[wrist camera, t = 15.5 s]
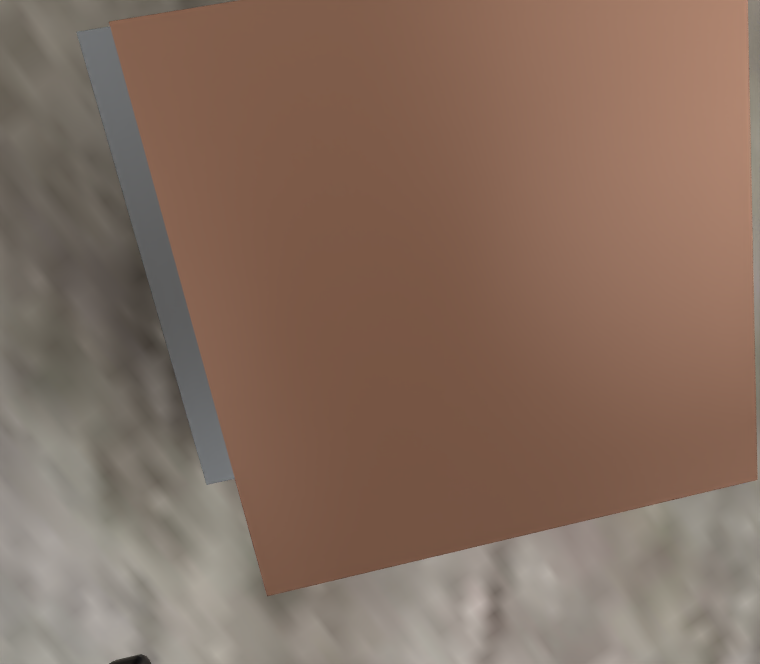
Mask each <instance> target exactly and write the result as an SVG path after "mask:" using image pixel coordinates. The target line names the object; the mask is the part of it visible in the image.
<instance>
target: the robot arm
mask: <svg viewBox="0 0 760 664" xmlns="http://www.w3.org/2000/svg"><path fill="white" fill-rule="evenodd" d="M110 664H151V662H150V660H149V659H148V657H147V656H145V655H142V654H139V655H135V656H131V657H127V658H123V659H119V660H115V661H113V662H111V663H110Z"/></svg>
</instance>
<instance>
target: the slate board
mask: <svg viewBox="0 0 760 664" xmlns="http://www.w3.org/2000/svg"><path fill="white" fill-rule="evenodd" d="M77 36H78V39H79V43H80V46H81V50H82V53H83V57H84V60H85V64H86V67H87V71H88V74H89V78H90V81H91V84H92V88H93V91H94V95H95V98H96V102H97V105H98V109H99V112H100V116H101V119H102V123H103V126H104V130H105V133H106V137H107V140H108V144H109V147H110V150H111V154H112V157H113V161H114V164H115V168H116V171H117V175H118V178H119V182H120V185H121V189H122V192H123V196H124V199H125V203H126V206H127V210H128V213H129V217H130V220H131V223H132V227H133V230H134V234H135V237H136V241H137V244H138V248H139V251H140V255H141V258H142V262H143V265H144V269H145V272H146V276H147V279H148V283H149V286H150V289H151V293H152V296H153V300H154V303H155V307H156V310H157V314H158V317H159V321H160V324H161V328H162V331H163V335H164V338H165V342H166V345H167V349H168V352H169V355H170V359H171V362H172V366H173V369H174V373H175V376H176V380H177V383H178V387H179V390H180V394H181V397H182V401H183V404H184V408H185V411H186V415H187V418H188V421H189V425H190V428H191V432H192V435H193V439H194V442H195V446H196V449H197V453H198V456H199V460H200V463H201V467H202V470H203V474H204V477H205V481H206V484H207V485H208V484H213V483H217V482H222V481H226V480H231V479H235V478H234V474H233V470H232V467H231V463H230V459H229V456H228V452H227V449H226V445H225V441H224V438H223V434H222V430H221V427H220V423H219V419H218V416H217V412H216V409H215V405H214V401H213V398H212V394H211V390H210V387H209V383H208V380H207V376H206V372H205V369H204V365H203V361H202V358H201V354H200V351H199V347H198V343H197V340H196V336H195V332H194V329H193V325H192V322H191V318H190V314H189V311H188V307H187V303H186V300H185V296H184V293H183V289H182V285H181V282H180V278H179V274H178V271H177V267H176V264H175V260H174V256H173V253H172V249H171V245H170V242H169V238H168V235H167V231H166V227H165V224H164V220H163V216H162V213H161V209H160V206H159V202H158V198H157V195H156V191H155V187H154V184H153V180H152V177H151V173H150V169H149V166H148V162H147V158H146V155H145V151H144V148H143V144H142V140H141V137H140V133H139V129H138V126H137V122H136V119H135V115H134V111H133V108H132V104H131V100H130V97H129V93H128V90H127V86H126V82H125V79H124V75H123V71H122V68H121V64H120V61H119V57H118V53H117V50H116V46H115V42H114V39H113V35H112V32H111V28H110V27H104V28H98V29H91V30H85V31H79V32H77Z"/></svg>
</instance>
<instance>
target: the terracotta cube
mask: <svg viewBox="0 0 760 664" xmlns="http://www.w3.org/2000/svg"><path fill="white" fill-rule="evenodd" d="M109 24H110V28H111V32H112V35H113V39H114V42H115V46H116V50H117V53H118V57H119V61H120V64H121V68H122V71H123V75H124V79H125V82H126V86H127V90H128V93H129V97H130V100H131V104H132V108H133V111H134V115H135V119H136V122H137V126H138V129H139V133H140V137H141V140H142V144H143V148H144V151H145V155H146V158H147V162H148V166H149V169H150V173H151V177H152V180H153V184H154V187H155V191H156V195H157V198H158V202H159V206H160V209H161V213H162V216H163V220H164V224H165V227H166V231H167V235H168V238H169V242H170V245H171V249H172V253H173V256H174V260H175V264H176V267H177V271H178V274H179V278H180V282H181V285H182V289H183V293H184V296H185V300H186V303H187V307H188V311H189V314H190V318H191V322H192V325H193V329H194V332H195V336H196V340H197V343H198V347H199V351H200V354H201V358H202V361H203V365H204V369H205V372H206V376H207V380H208V383H209V387H210V390H211V394H212V398H213V401H214V405H215V409H216V412H217V416H218V419H219V423H220V427H221V430H222V434H223V438H224V441H225V445H226V449H227V452H228V456H229V459H230V463H231V467H232V470H233V474H234V478H235V481H236V485H237V488H238V492H239V496H240V499H241V503H242V507H243V510H244V514H245V517H246V521H247V525H248V528H249V532H250V536H251V539H252V543H253V546H254V550H255V554H256V557H257V561H258V565H259V568H260V572H261V575H262V579H263V583H264V586H265V590H266V594H267V596H270V595H274V594H279V593H283V592H287V591H291V590H295V589H300V588H304V587H308V586H312V585H317V584H321V583H325V582H329V581H333V580H338V579H342V578H346V577H350V576H354V575H359V574H363V573H367V572H371V571H375V570H380V569H384V568H388V567H392V566H397V565H401V564H405V563H409V562H413V561H418V560H422V559H426V558H430V557H434V556H439V555H443V554H447V553H451V552H456V551H460V550H464V549H468V548H472V547H477V546H481V545H485V544H489V543H493V542H498V541H502V540H506V539H510V538H514V537H519V536H523V535H527V534H531V533H536V532H540V531H544V530H548V529H552V528H557V527H561V526H565V525H569V524H573V523H578V522H582V521H586V520H590V519H595V518H599V517H603V516H607V515H611V514H616V513H620V512H624V511H628V510H632V509H637V508H641V507H645V506H649V505H653V504H658V503H662V502H666V501H670V500H675V499H679V498H683V497H687V496H691V495H696V494H700V493H704V492H708V491H712V490H717V489H721V488H725V487H729V486H734V485H738V484H742V483H746V482H750V481H755V480H757V433H756V384H755V335H754V286H753V237H752V189H751V140H750V91H749V42H748V0H239V1H233V2H226V3H220V4H214V5H208V6H202V7H196V8H190V9H183V10H177V11H171V12H165V13H159V14H153V15H147V16H140V17H134V18H128V19H122V20H116V21H110V22H109Z"/></svg>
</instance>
